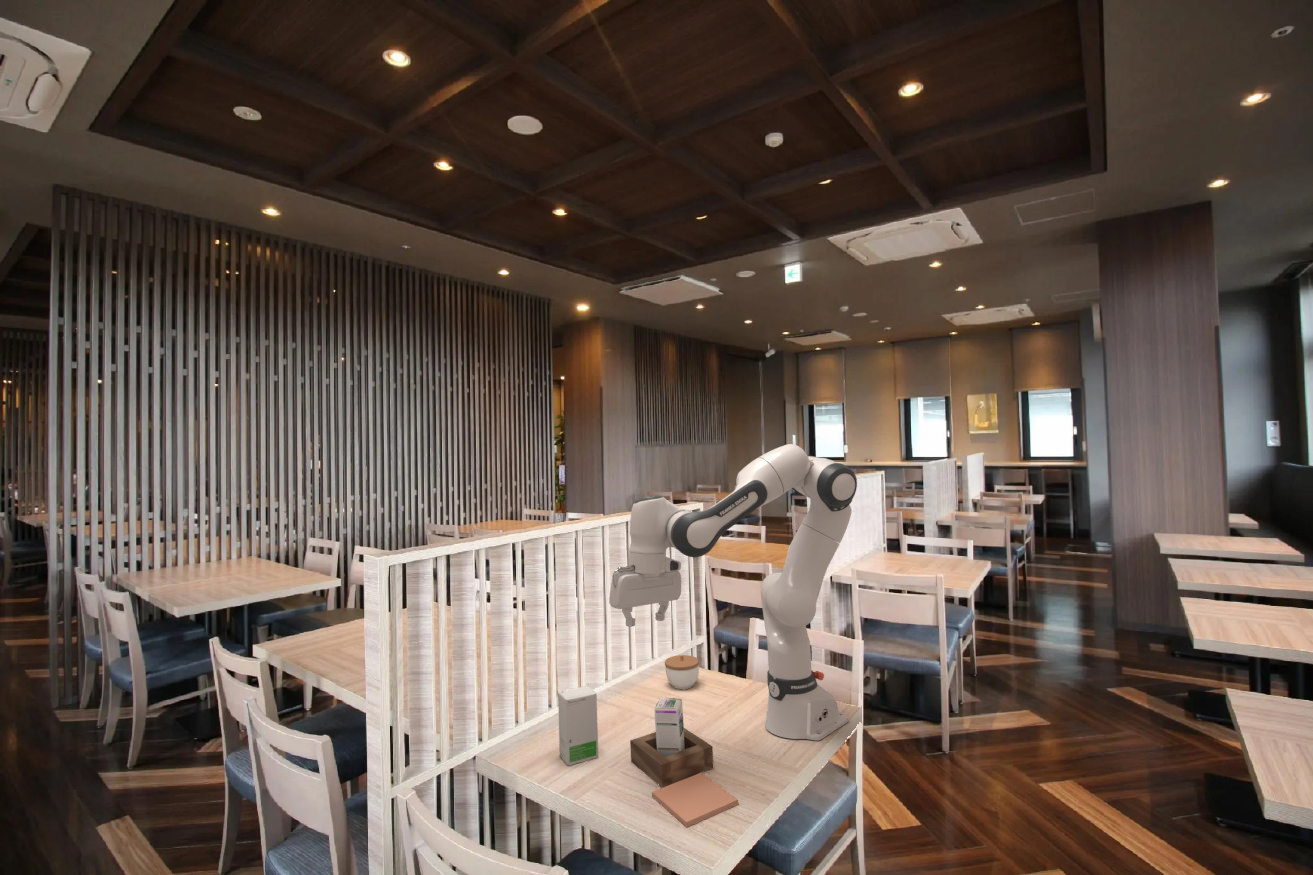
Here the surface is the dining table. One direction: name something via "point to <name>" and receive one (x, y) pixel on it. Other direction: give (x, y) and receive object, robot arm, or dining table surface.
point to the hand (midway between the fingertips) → (645, 623)
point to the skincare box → (578, 725)
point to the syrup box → (669, 726)
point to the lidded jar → (682, 671)
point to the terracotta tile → (694, 799)
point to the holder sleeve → (671, 759)
